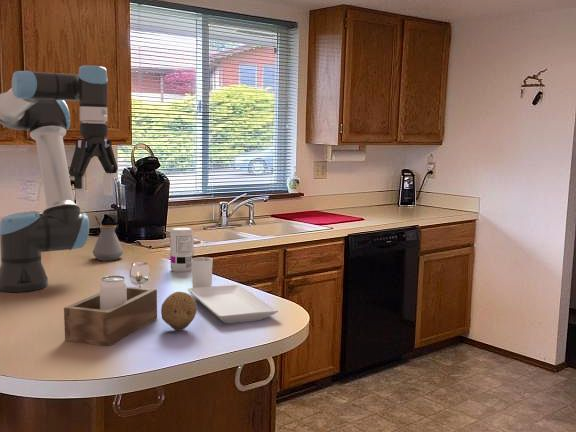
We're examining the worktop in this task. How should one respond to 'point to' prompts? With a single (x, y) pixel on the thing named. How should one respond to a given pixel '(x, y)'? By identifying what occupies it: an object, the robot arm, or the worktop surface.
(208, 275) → the white cup
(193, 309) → the natural sponge
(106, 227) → the coffee pot
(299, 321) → the worktop surface
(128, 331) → the narrow open box
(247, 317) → the tray
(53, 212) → the robot arm
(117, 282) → the can
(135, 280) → the wineglass
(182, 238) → the supplement can
